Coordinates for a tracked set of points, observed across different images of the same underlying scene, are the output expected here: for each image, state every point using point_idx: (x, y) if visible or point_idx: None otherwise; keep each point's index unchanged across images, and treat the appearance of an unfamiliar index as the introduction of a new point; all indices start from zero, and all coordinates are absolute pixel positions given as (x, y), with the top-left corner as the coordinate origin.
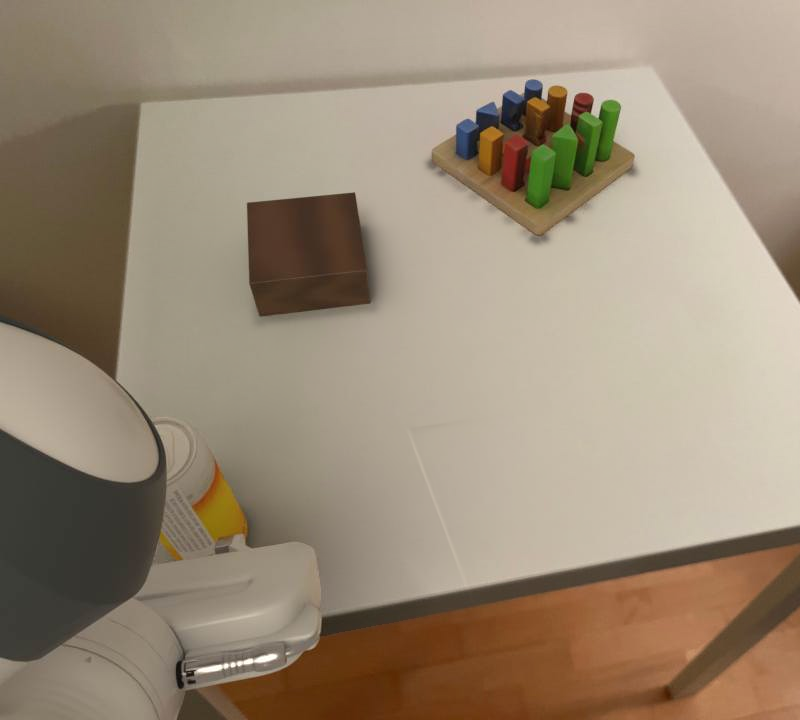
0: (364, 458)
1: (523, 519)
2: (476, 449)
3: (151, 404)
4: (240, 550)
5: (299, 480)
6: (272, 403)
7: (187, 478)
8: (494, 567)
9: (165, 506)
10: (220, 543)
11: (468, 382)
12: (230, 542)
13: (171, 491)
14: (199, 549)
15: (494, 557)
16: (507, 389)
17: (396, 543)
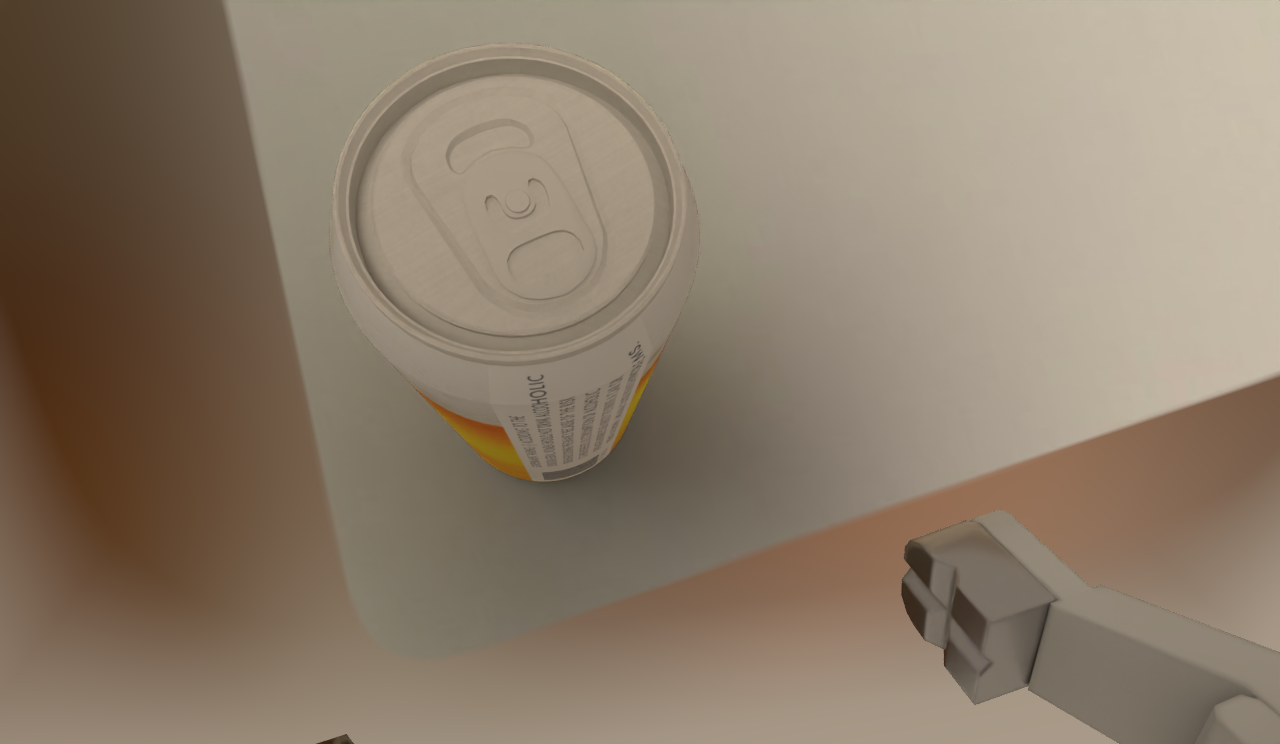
0: (825, 190)
1: (1172, 293)
2: (1043, 154)
3: (315, 97)
4: (1224, 669)
5: (701, 249)
6: None
7: (671, 292)
8: (1144, 398)
9: (583, 401)
10: (991, 591)
11: (989, 11)
12: (1036, 582)
13: (625, 352)
14: (584, 456)
15: (1138, 378)
16: (1069, 22)
17: (940, 368)
